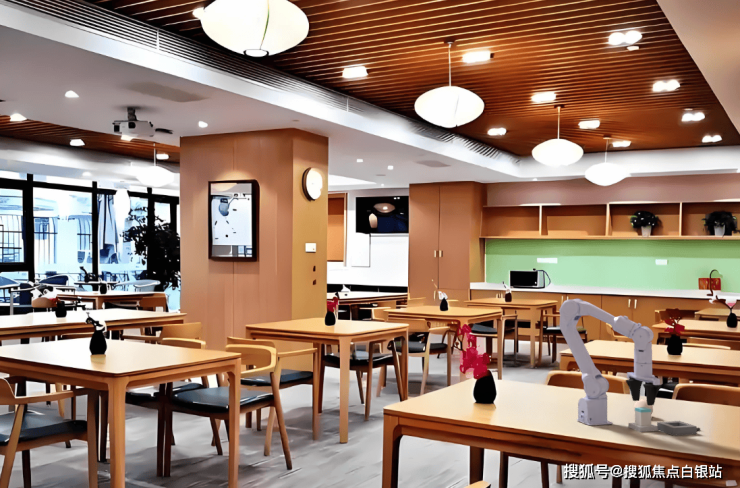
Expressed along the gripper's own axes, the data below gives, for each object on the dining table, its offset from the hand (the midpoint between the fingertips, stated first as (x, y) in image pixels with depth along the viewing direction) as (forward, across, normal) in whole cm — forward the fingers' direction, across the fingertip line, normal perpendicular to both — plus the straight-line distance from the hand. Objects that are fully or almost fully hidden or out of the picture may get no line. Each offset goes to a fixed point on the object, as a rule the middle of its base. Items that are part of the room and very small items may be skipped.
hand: (643, 402), depth 232 cm
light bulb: (+9, +14, -10) cm, 20 cm away
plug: (+9, 0, 0) cm, 9 cm away
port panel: (+9, -6, -11) cm, 15 cm away
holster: (+9, 0, 0) cm, 9 cm away
